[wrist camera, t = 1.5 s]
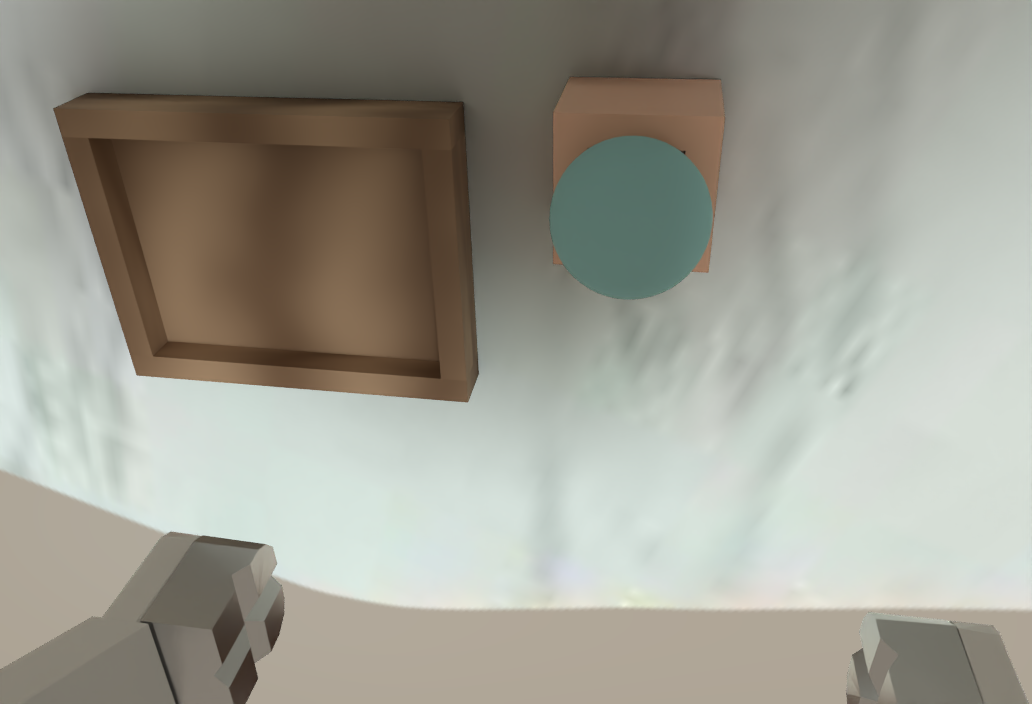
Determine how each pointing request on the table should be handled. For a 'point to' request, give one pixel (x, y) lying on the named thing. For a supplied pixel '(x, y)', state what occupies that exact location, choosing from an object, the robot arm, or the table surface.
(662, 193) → the ball
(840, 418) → the table surface
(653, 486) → the table surface
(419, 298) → the tray
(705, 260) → the square socket block
